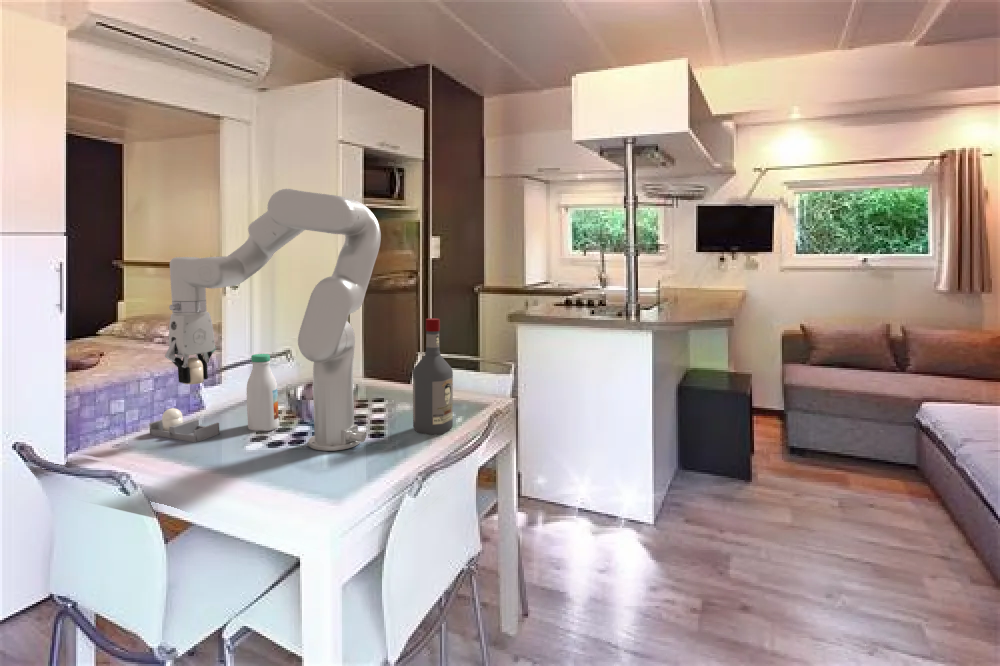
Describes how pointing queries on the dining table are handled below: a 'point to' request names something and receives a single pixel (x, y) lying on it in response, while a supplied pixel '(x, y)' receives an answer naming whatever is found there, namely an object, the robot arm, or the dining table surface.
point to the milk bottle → (262, 395)
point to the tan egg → (195, 371)
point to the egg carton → (185, 430)
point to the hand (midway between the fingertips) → (193, 379)
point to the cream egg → (171, 418)
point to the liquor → (432, 387)
